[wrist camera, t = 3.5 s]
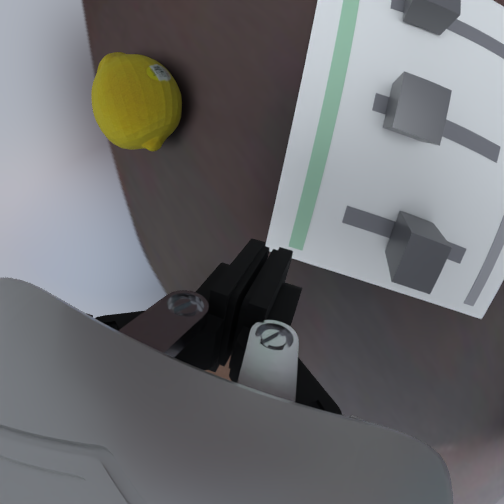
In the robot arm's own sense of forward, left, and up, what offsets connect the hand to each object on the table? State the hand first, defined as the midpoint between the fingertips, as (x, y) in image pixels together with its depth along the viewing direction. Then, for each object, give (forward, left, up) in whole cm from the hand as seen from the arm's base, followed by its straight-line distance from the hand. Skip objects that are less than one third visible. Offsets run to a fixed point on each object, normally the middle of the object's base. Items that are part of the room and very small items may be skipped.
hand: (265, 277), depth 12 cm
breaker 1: (-5, -18, -12) cm, 22 cm away
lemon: (+17, -6, -16) cm, 24 cm away
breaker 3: (-8, 0, -12) cm, 15 cm away
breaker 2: (-5, -9, -12) cm, 16 cm away
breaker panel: (-8, -9, -16) cm, 20 cm away
